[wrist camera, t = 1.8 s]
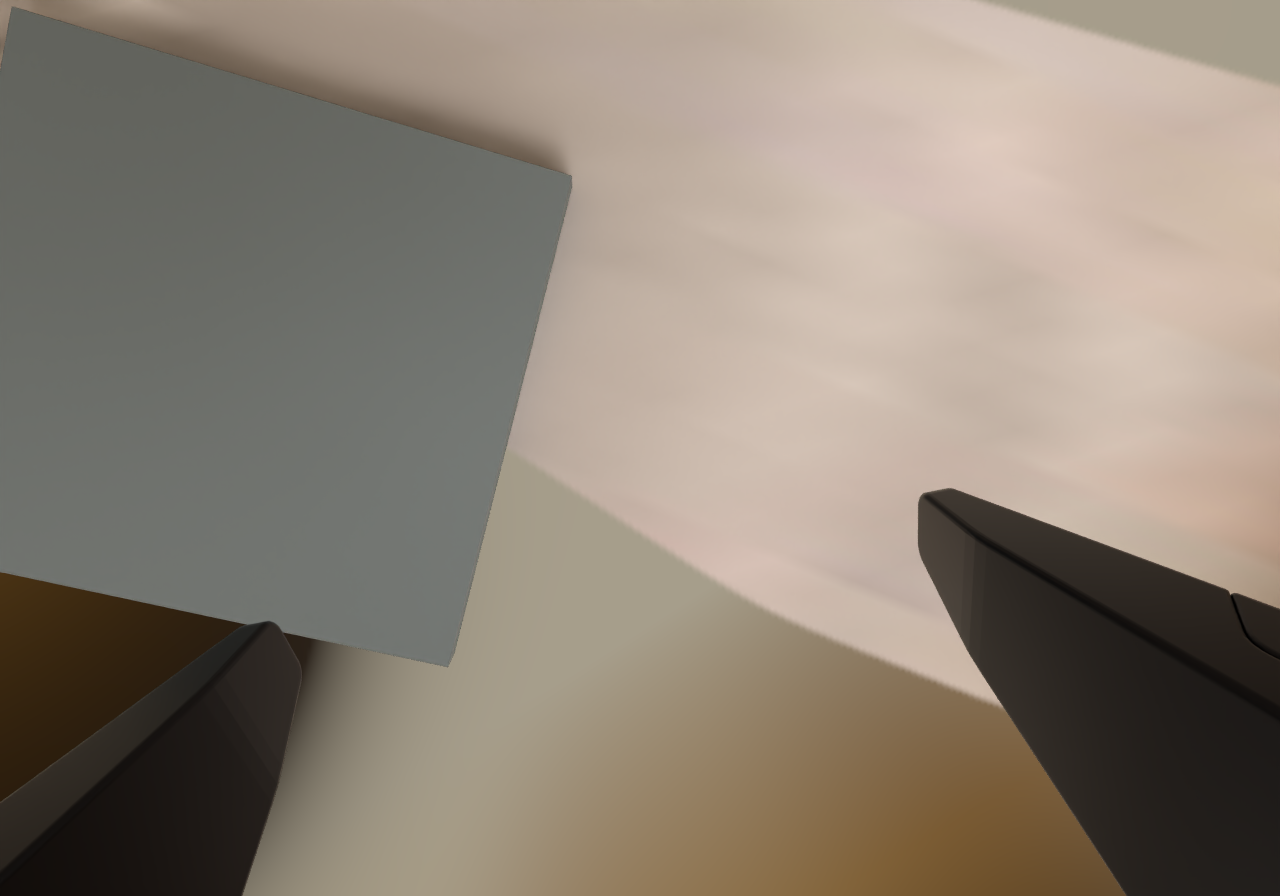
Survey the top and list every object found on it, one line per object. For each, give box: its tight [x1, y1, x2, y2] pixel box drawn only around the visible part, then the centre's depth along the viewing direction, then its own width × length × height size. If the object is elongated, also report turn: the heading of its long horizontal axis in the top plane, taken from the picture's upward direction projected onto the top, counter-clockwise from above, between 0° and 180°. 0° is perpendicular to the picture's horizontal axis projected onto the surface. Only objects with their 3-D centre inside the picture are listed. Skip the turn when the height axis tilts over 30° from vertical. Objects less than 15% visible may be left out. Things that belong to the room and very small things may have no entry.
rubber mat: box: [0, 7, 572, 667], centre depth 18 cm, size 14×14×1 cm
